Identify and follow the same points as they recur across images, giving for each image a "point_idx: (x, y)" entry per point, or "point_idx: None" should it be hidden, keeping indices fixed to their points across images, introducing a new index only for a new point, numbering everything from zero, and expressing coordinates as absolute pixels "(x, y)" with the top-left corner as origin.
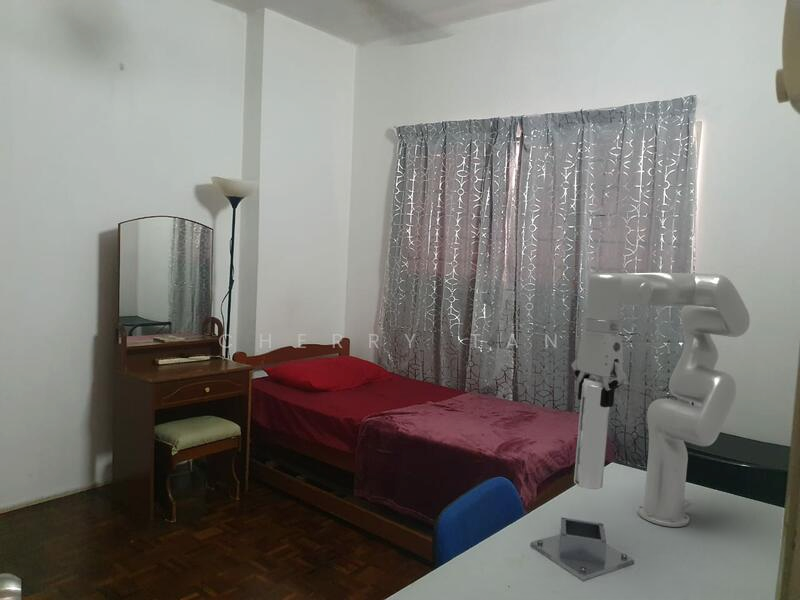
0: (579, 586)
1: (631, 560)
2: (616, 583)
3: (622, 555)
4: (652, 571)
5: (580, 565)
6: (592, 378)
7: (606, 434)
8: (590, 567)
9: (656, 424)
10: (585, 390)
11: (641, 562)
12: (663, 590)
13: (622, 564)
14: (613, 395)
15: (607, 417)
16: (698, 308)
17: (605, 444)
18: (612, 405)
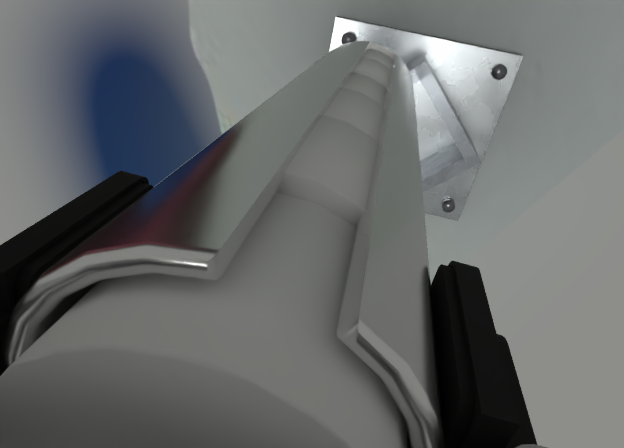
0: (460, 237)
1: (518, 67)
2: (516, 173)
3: (496, 78)
4: (574, 50)
5: (433, 188)
6: (24, 422)
7: (418, 153)
8: (453, 179)
9: None
10: None
11: (535, 28)
12: (619, 118)
13: (504, 101)
14: (520, 414)
15: (424, 215)
16: None
17: (417, 136)
18: (473, 274)
